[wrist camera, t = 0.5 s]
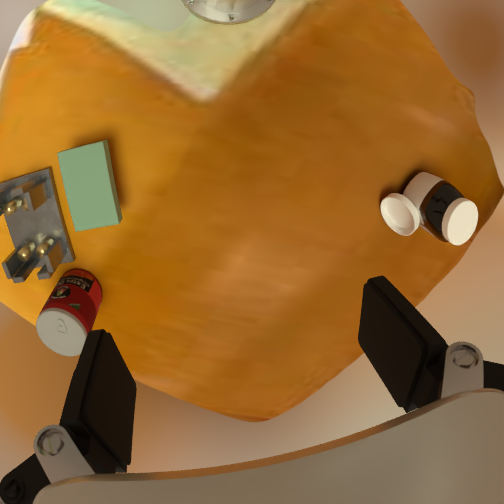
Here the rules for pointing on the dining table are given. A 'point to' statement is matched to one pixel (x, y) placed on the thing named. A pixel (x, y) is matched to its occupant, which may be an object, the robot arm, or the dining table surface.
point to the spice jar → (431, 210)
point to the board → (90, 186)
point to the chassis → (34, 226)
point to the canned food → (70, 312)
